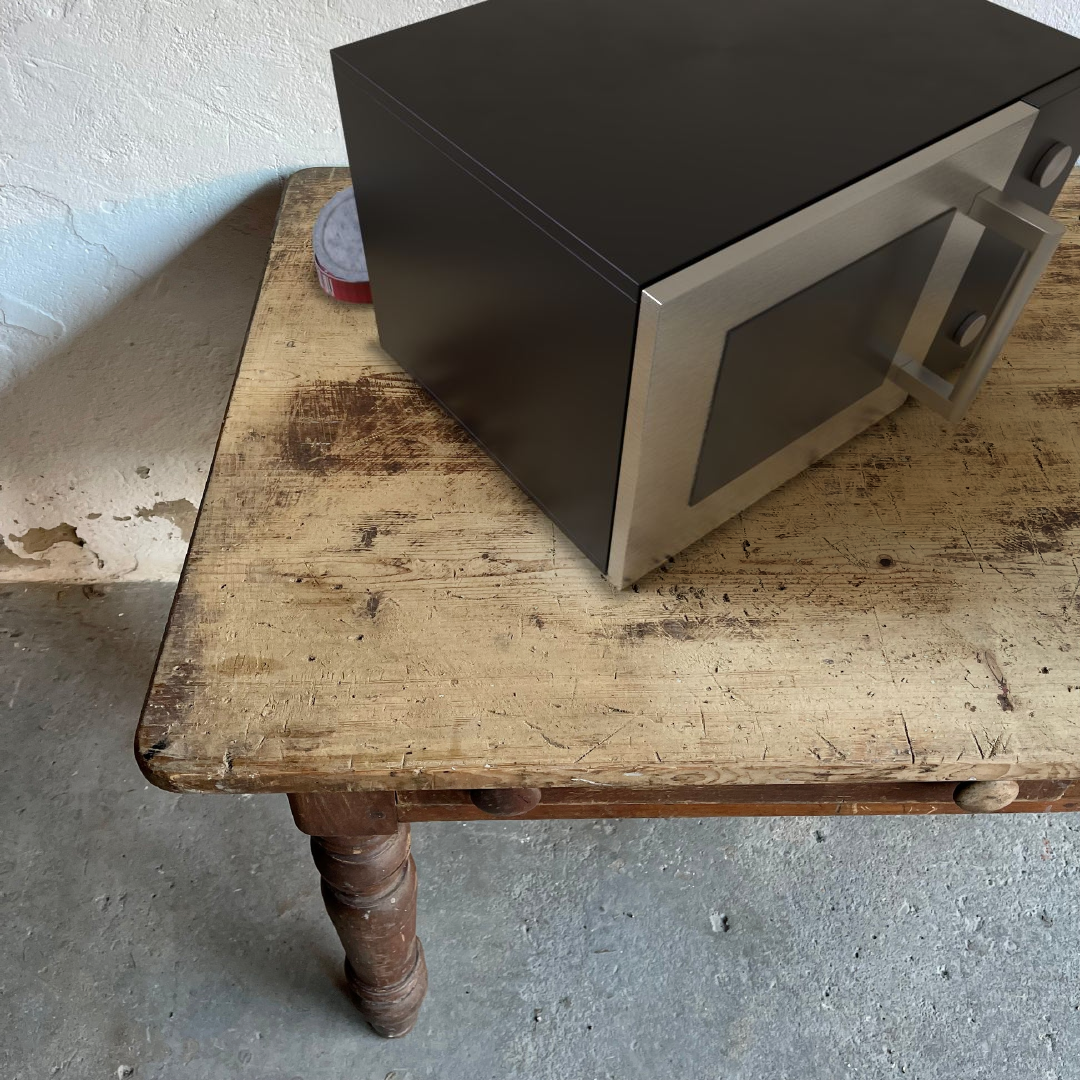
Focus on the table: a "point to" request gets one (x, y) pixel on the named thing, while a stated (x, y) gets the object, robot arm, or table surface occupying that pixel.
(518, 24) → the microwave
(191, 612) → the table surface
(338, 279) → the canned food
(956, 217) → the microwave door
